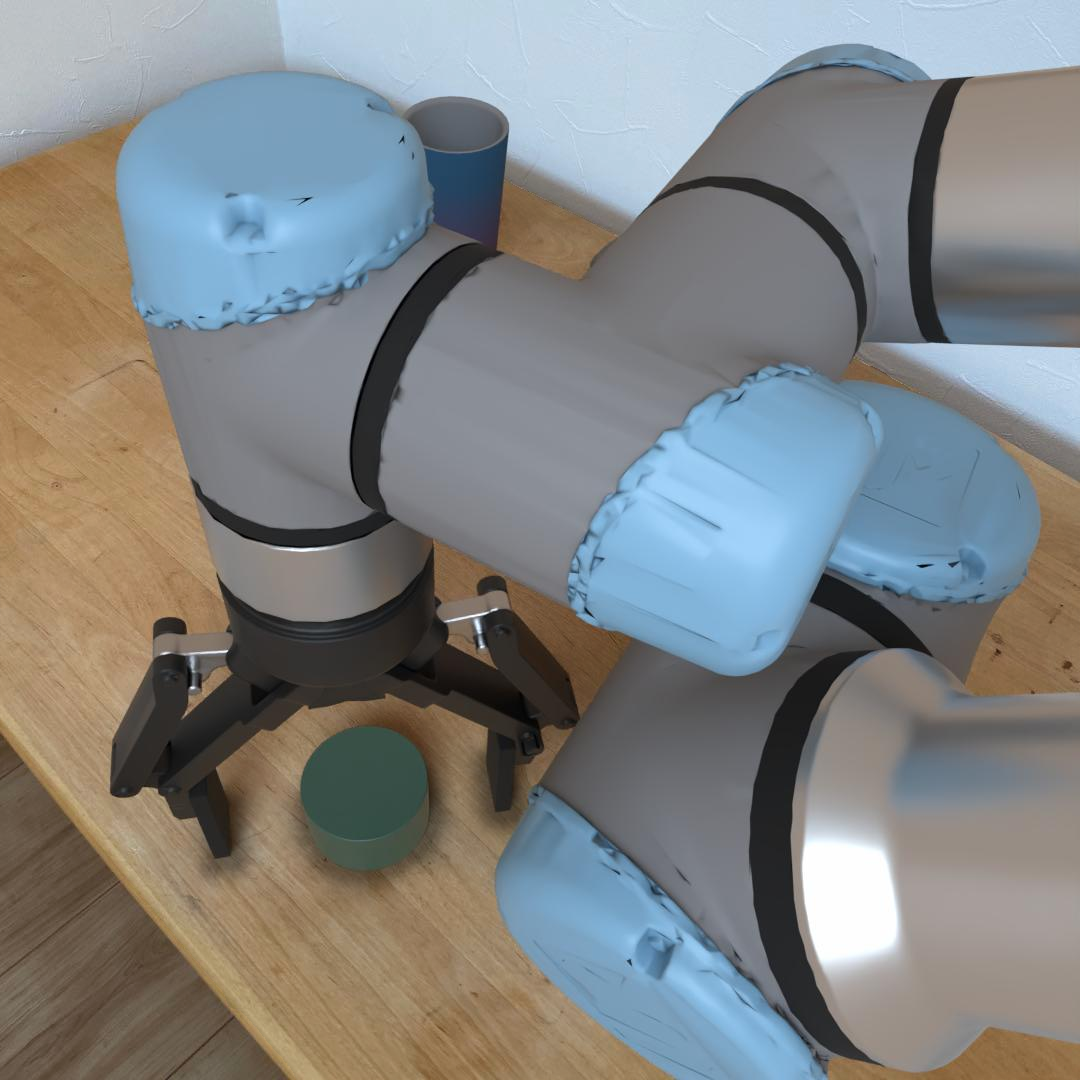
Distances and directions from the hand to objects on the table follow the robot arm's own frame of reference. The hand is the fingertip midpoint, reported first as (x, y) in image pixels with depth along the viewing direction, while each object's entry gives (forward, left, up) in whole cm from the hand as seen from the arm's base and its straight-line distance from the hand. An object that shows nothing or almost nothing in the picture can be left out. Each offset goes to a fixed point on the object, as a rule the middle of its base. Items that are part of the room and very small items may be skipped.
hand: (363, 809), depth 53 cm
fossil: (-3, -40, 0) cm, 40 cm away
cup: (+10, -38, 0) cm, 39 cm away
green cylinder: (0, 0, 0) cm, 0 cm away
